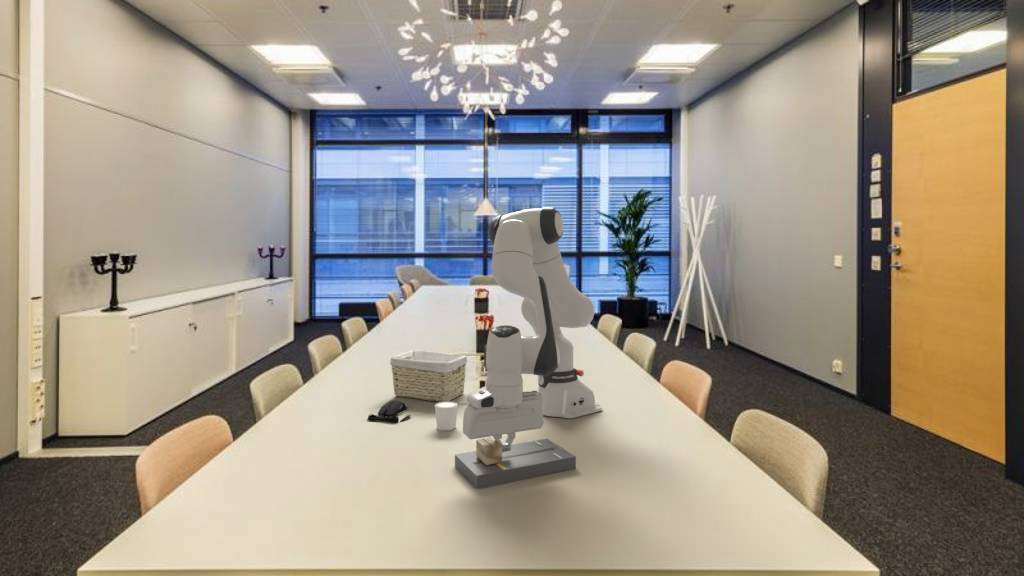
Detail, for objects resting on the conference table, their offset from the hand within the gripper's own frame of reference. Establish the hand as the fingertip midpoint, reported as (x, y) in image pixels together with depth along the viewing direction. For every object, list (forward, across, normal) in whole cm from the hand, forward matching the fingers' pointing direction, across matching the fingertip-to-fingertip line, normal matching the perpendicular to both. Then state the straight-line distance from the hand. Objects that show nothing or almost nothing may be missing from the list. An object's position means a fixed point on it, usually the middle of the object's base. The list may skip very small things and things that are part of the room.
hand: (504, 450), depth 133 cm
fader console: (+5, -3, 0) cm, 6 cm away
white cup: (+5, +2, -36) cm, 37 cm away
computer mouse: (+5, +12, -55) cm, 57 cm away
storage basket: (+5, -5, -73) cm, 73 cm away
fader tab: (+1, +4, 0) cm, 4 cm away
